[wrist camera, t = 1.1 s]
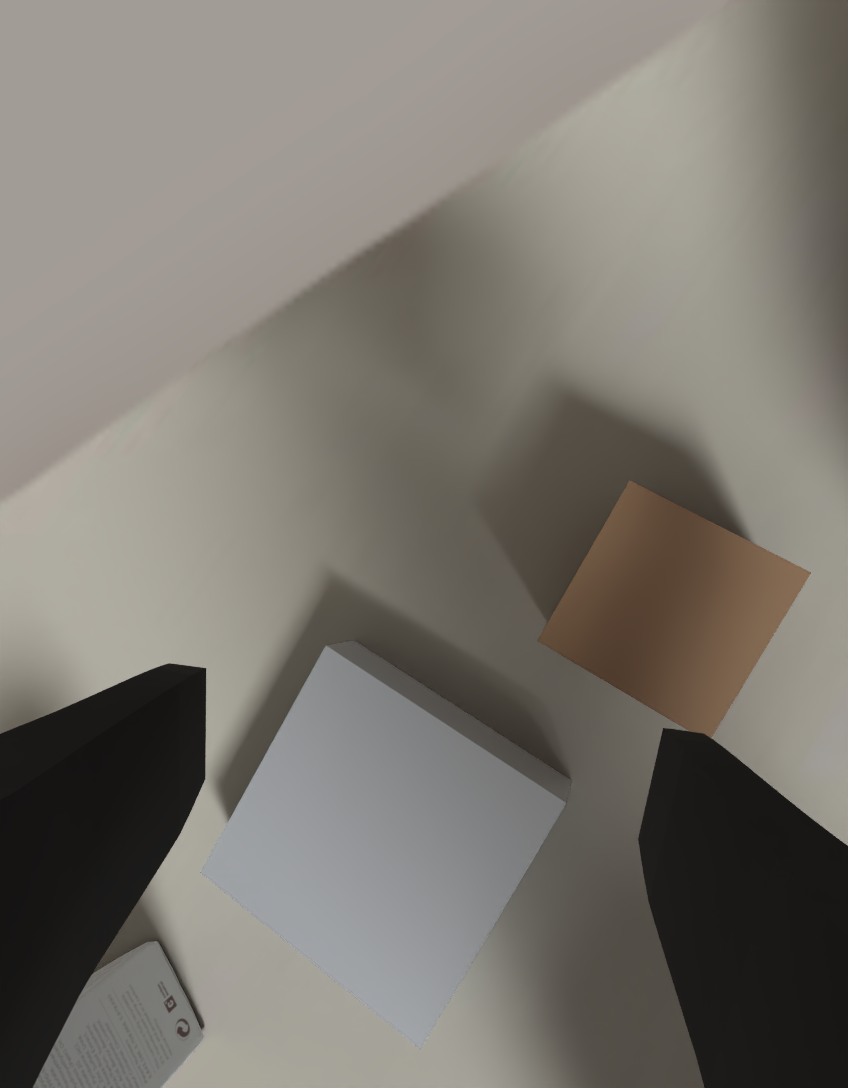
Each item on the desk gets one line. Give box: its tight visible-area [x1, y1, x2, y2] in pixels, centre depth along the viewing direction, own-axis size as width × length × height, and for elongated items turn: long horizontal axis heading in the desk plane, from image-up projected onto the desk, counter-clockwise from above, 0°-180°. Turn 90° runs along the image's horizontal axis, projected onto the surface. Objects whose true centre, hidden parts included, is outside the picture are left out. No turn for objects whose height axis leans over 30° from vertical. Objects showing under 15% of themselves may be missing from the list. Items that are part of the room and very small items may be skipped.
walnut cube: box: [537, 481, 811, 738], centre depth 21 cm, size 5×5×5 cm
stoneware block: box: [200, 640, 572, 1049], centre depth 24 cm, size 9×9×3 cm
